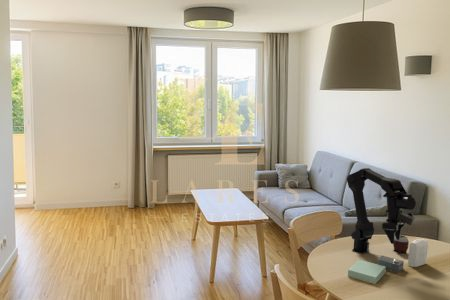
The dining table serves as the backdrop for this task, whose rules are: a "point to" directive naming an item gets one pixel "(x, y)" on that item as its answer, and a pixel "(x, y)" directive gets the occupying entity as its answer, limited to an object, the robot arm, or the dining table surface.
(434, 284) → the dining table surface
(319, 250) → the dining table surface
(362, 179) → the robot arm
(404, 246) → the mate gourd
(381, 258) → the graphite housing
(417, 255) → the photo printer
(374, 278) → the sage stand
